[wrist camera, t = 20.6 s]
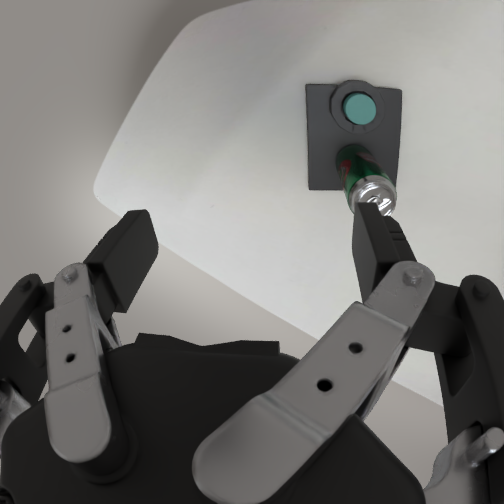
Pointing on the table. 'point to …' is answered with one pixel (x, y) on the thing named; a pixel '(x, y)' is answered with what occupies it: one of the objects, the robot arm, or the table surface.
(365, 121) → the button
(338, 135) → the dark grey flat block
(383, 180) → the soda can
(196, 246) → the table surface
